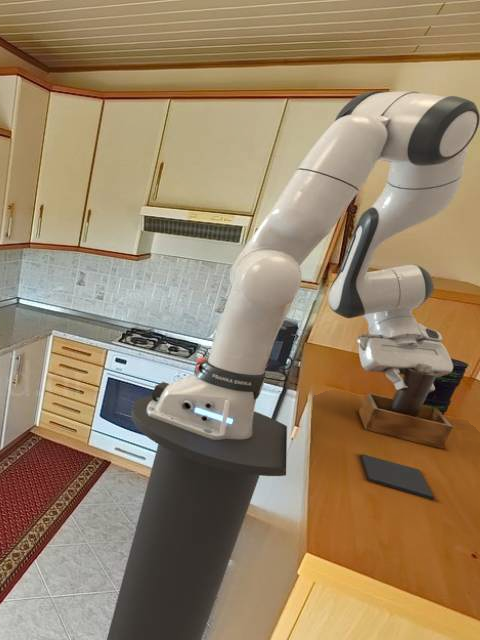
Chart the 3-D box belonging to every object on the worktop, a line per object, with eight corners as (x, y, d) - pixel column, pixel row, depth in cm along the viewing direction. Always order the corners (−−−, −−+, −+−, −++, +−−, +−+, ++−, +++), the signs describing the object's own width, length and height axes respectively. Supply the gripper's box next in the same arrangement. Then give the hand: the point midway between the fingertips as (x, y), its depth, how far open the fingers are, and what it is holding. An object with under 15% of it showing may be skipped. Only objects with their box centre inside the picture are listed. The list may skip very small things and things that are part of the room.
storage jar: (403, 417, 122) (429, 360, 117) (384, 403, 131) (408, 350, 126) (451, 425, 120) (479, 368, 114) (428, 411, 129) (454, 357, 123)
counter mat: (368, 480, 88) (369, 477, 88) (360, 456, 97) (361, 453, 97) (432, 499, 83) (434, 496, 83) (417, 472, 93) (419, 469, 93)
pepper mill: (387, 417, 112) (412, 364, 108) (384, 411, 116) (407, 359, 112) (416, 424, 110) (442, 370, 105) (411, 417, 114) (436, 365, 109)
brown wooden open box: (365, 429, 112) (374, 408, 110) (358, 411, 123) (366, 392, 121) (442, 449, 105) (453, 426, 103) (427, 428, 116) (437, 408, 114)
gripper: (367, 326, 112) (387, 381, 106) (447, 333, 114) (470, 388, 108) (344, 339, 117) (362, 392, 112) (421, 346, 119) (441, 398, 114)
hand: (416, 390), depth 110 cm, fingers closed on pepper mill, 5 cm apart
